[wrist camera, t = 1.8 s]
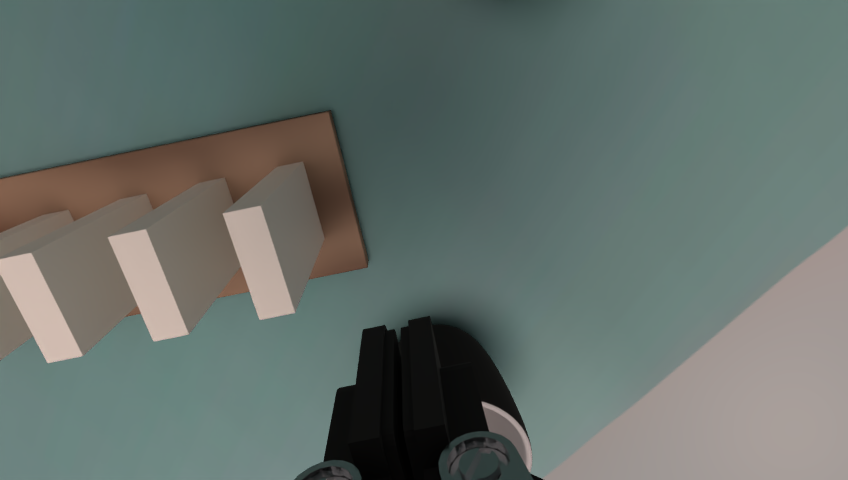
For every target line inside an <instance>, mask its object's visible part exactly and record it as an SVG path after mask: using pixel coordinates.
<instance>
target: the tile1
mask: <svg viewBox="0 0 848 480" xmlns="http://www.w3.org/2000/svg"><path fill="white" fill-rule="evenodd" d="M222 214H223V216H224V219H225V222H226V225H227V228H228V231H229V234H230V236H231V239H232V242H233V245H234V248H235V251H236V254H237V257H238V259H239V262H240V265H241V268H242V271H243V274H244V277H245V279H246V282H247V285H248V288H249V291H250V294H251V297H252V299H253V302H254V305H255V308H256V311H257V314H258V317H259V320H262V319H267V318H272V317H277V316H282V315H287V314H292V313H295V312H296V309H297V307H298V304H299V302H300V299H301V297H302V294H303V292H304V289H305V287H306V284H307V282H308V279H309V277H310V274H311V272H312V269H313V267H314V264H315V262H316V259H317V256H318V254H319V251H320V249H321V246H322V244H323V241H324V239H325V238H324V235H323V231H322V227H321V224H320V220H319V217H318V213H317V210H316V206H315V202H314V199H313V195H312V192H311V188H310V185H309V181H308V177H307V174H306V170H305V167H304V163H303V162H298V163H293V164H288V165H283V166H278V167H276V168H275V169H274V170H273V171H271V172H270V173H269V174H268V175H267V176H266V177H264V178H263V179H262V180H261V181H260V182H259V183H257V184H256V185H255V186H254V187H253V188H252V189H250V190H249V191H248V192H247V193H246V194H245V195H243V196H242V197H241V198H240V199H239V200H238V201H236V202H235V203H234V204H233V205H232V206H231V207H229V208H228V209H227V210H226V211H225V212H224V213H222Z"/></svg>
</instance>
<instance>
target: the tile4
mask: <svg viewBox="0 0 848 480" xmlns="http://www.w3.org/2000/svg"><path fill="white" fill-rule="evenodd" d="M72 222H74V220H73V218H72V216H71V214H70V212H69V210H64V211H60V212H55V213H50V214H45V215H41V216H39V217H37V218H34V219H32V220H30V221H27V222H25V223H22V224H20V225H18V226H15V227H13V228H11V229H8V230H6V231H3V232H1V233H0V257H1V256H3V255H5V254H8V253H10V252H12V251H14V250H16V249H18V248H20V247H22V246H24V245H26V244H28V243H30V242H32V241H34V240H37V239H39V238H41V237H43V236H45V235H47V234H49V233H51V232H53V231H55V230H57V229H59V228H61V227H63V226H66V225H68V224H70V223H72ZM32 336H33V335H32V333H31V331H30V329H29V327H28V325H27V323H26V321H25V320H24V318H23V316H22V314H21V312H20V310H19V308H18V306H17V305H16V303H15V301H14V299H13V297H12V295H11V293H10V291H9V290H8V288H7V286H6V284H5V282H4V280H3V278H2V276H1V275H0V360H1V359H3V358H4V357H5V356H7V355H8V354H9V353H11V352H12V351H14V350H15V349H16V348H18V347H19V346H20V345H22V344H23V343H24V342H26V341H27V340H28V339H30V338H31V337H32Z"/></svg>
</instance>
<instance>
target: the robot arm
mask: <svg viewBox="0 0 848 480" xmlns="http://www.w3.org/2000/svg"><path fill="white" fill-rule="evenodd" d="M294 480H543V479H541V478H539V477H537V476H534V475H532V474H530V472H529V471H528V469H527V467H526V465H525V463H524V461H523V460H522V458H521V456H520V454H519V452H518V451H517V449H516V447H515V446H514V445H513V444H512V442H511V441H510V440H509V439H507V438H505V437H504V436H502V435H500V434H497V433H493V432H489V429H488V425H487V421H486V417H485V414H484V410H483V406H482V402H481V398H480V394H479V391H478V387H477V383H476V379H475V375H474V372H473V368H472V364H471V362H466V363H461V364H456V365H451V366H446V367H441V365H440V360H439V356H438V351H437V346H436V342H435V337H434V332H433V328H432V323H431V319H430V316H428V317H423V318H418V319H413V320H408V326H407V327H403V328H401V352H400V348H399V344H398V339H397V335H396V332H395V329H393V330H388V331H387V328H386V326H385V325H383V326H378V327H373V328H368V329H363V332H362V340H361V347H360V355H359V363H358V371H357V378H356V385H351V386H346V387H341V388H339V389H337V393H336V397H335V403H334V408H333V413H332V419H331V424H330V429H329V435H328V440H327V445H326V451H325V456H324V462H321V463H319V464H316V465H314V466H312V467H310V468H308V469H307V470H305V471H304V472H302V473H301V474H299V475H298V476H297V477H296V478H295V479H294Z"/></svg>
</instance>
